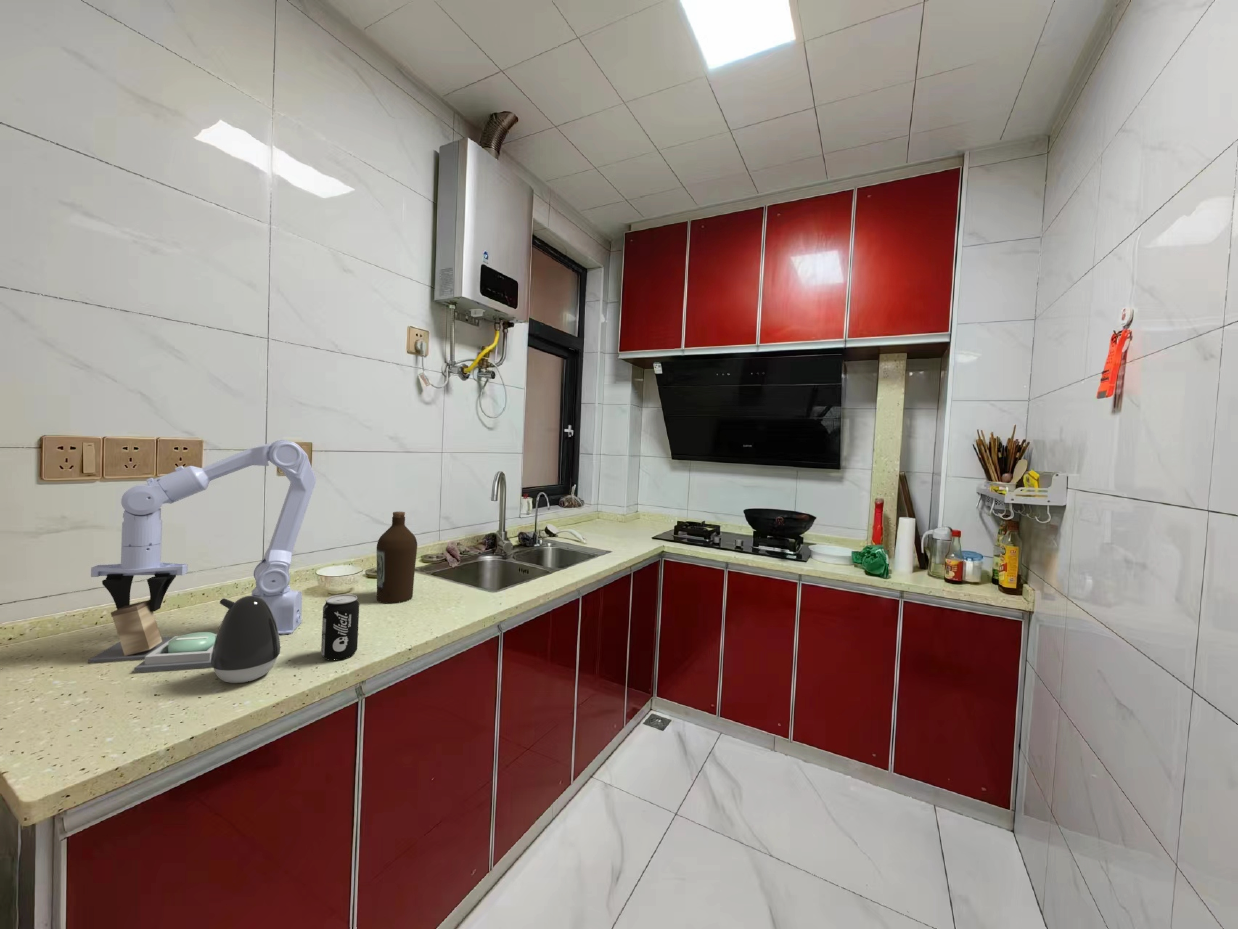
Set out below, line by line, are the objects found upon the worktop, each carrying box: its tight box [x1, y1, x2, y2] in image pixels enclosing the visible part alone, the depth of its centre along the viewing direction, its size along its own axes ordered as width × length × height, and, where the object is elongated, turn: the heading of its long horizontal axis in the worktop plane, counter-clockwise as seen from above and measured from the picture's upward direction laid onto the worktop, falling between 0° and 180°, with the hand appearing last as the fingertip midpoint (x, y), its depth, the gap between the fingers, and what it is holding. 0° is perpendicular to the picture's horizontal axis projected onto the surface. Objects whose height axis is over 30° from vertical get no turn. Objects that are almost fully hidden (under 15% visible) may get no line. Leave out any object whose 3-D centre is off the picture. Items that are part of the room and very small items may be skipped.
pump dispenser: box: [211, 595, 281, 684], centre depth 89 cm, size 10×10×15 cm
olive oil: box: [376, 511, 418, 604], centre depth 136 cm, size 11×11×25 cm
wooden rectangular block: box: [110, 599, 162, 656], centre depth 94 cm, size 4×4×9 cm
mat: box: [87, 636, 175, 664], centre depth 96 cm, size 10×10×1 cm
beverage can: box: [320, 593, 360, 661], centre depth 100 cm, size 7×7×12 cm
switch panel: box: [133, 633, 217, 674], centre depth 95 cm, size 12×12×2 cm
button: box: [168, 631, 216, 653], centre depth 95 cm, size 7×7×3 cm
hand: (139, 610), depth 96 cm, fingers open, 4 cm apart
